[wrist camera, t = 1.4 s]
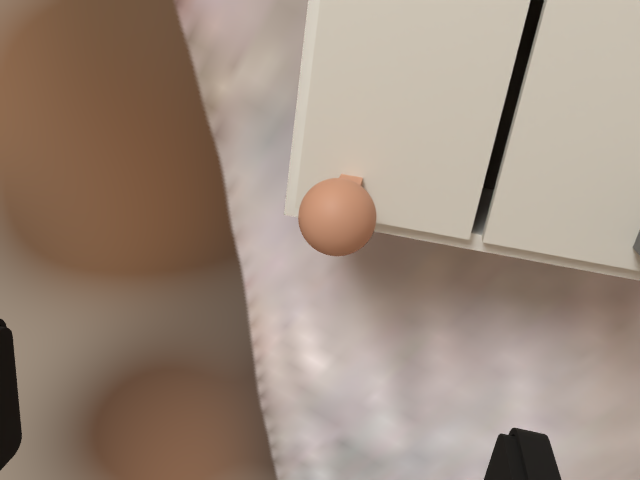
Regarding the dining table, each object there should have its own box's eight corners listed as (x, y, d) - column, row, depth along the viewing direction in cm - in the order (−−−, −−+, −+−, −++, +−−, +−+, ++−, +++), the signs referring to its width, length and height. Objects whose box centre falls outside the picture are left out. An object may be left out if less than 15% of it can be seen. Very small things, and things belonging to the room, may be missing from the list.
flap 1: (551, -91, 21) (599, -130, 15) (468, 235, 26) (480, 298, 20) (336, -117, 22) (305, -163, 16) (297, 203, 27) (263, 256, 21)
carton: (709, -54, 28) (828, -81, 20) (611, 219, 34) (672, 286, 26) (351, -98, 30) (324, -140, 22) (316, 168, 36) (284, 214, 27)
